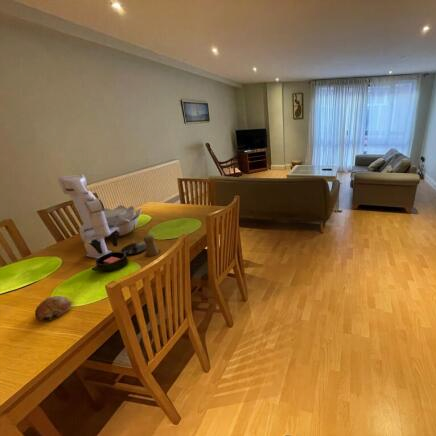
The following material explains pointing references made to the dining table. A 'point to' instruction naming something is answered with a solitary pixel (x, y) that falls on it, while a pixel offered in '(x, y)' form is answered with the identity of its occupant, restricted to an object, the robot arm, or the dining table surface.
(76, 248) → the dining table surface
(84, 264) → the dining table surface
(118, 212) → the decorative bowl
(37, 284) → the dining table surface
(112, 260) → the reddish pink block
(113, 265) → the pan
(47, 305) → the bread roll
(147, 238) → the cork
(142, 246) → the pan lid
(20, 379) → the dining table surface
